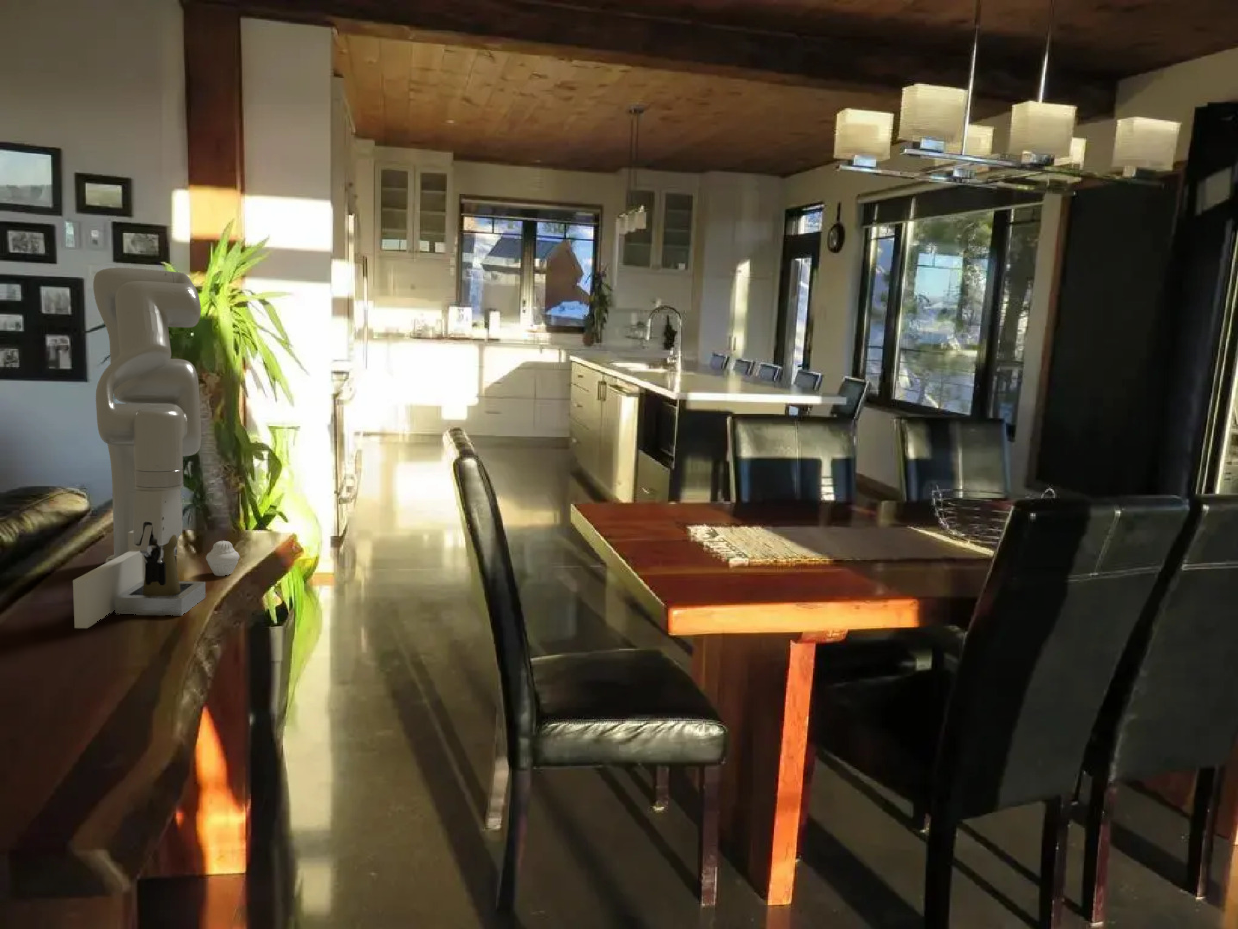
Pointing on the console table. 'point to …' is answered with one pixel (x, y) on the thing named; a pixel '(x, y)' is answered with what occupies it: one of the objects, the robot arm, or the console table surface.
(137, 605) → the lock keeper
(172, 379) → the robot arm
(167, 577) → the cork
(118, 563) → the door panel
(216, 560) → the muffin
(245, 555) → the console table surface
